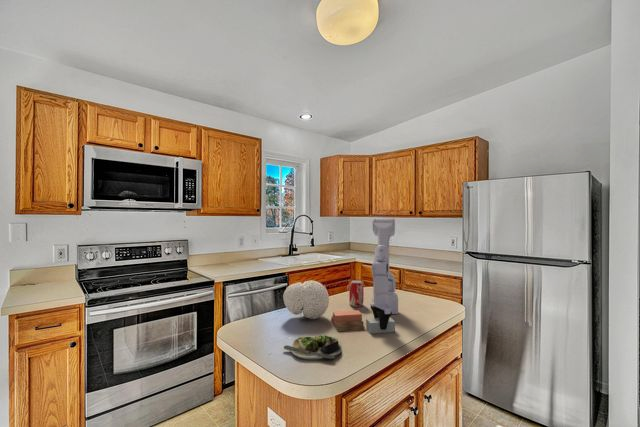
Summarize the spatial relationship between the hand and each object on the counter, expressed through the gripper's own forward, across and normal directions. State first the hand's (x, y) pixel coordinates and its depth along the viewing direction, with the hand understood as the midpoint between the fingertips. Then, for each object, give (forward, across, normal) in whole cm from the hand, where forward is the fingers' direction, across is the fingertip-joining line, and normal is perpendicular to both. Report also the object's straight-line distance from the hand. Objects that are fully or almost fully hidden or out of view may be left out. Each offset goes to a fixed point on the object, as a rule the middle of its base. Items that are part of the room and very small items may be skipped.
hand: (380, 326), depth 119 cm
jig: (+2, -8, -12) cm, 14 cm away
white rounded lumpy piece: (+2, -18, -27) cm, 33 cm away
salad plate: (+2, +12, -27) cm, 30 cm away
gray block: (+1, 0, 0) cm, 1 cm away
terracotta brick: (+1, -8, -12) cm, 14 cm away
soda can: (+2, -33, 0) cm, 33 cm away
